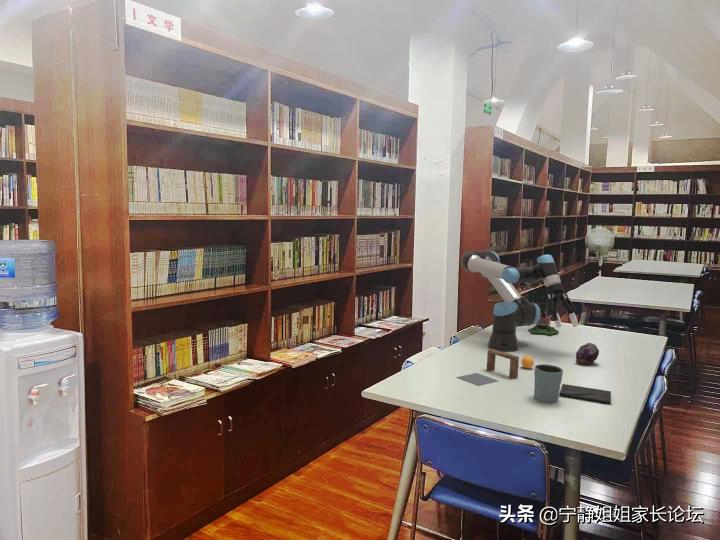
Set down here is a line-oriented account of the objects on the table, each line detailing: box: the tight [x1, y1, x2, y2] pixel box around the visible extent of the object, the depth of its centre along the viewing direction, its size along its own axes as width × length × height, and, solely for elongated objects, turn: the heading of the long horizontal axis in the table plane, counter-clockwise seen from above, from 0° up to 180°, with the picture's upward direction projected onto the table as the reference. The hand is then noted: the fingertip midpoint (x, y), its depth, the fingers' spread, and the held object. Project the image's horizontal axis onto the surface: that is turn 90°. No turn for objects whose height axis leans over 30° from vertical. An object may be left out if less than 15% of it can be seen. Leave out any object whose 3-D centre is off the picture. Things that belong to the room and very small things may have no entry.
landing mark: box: [456, 372, 499, 387], centre depth 222 cm, size 12×12×1 cm
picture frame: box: [559, 383, 612, 406], centre depth 206 cm, size 13×2×18 cm
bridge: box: [486, 348, 520, 380], centre depth 230 cm, size 3×14×9 cm, turn 35°
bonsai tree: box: [518, 279, 559, 336], centre depth 311 cm, size 35×24×32 cm
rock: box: [575, 342, 600, 366], centre depth 251 cm, size 12×9×10 cm
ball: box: [520, 355, 535, 369], centre depth 240 cm, size 6×6×6 cm
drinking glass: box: [533, 363, 564, 404], centre depth 200 cm, size 10×10×12 cm
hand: (568, 326), depth 255 cm, fingers open, 13 cm apart
